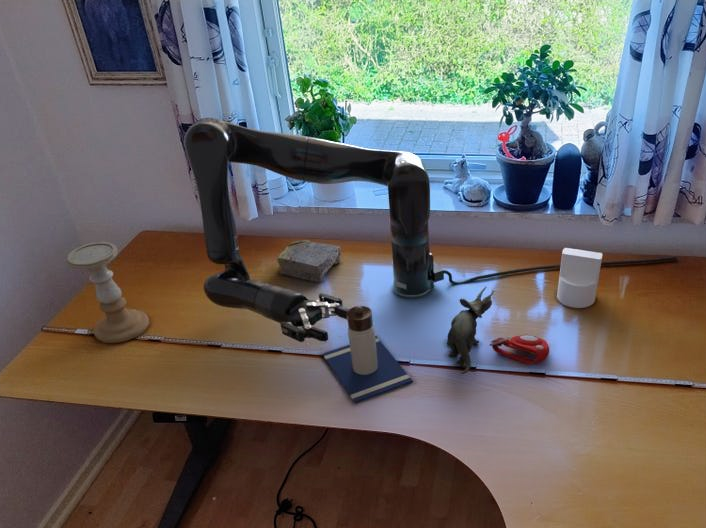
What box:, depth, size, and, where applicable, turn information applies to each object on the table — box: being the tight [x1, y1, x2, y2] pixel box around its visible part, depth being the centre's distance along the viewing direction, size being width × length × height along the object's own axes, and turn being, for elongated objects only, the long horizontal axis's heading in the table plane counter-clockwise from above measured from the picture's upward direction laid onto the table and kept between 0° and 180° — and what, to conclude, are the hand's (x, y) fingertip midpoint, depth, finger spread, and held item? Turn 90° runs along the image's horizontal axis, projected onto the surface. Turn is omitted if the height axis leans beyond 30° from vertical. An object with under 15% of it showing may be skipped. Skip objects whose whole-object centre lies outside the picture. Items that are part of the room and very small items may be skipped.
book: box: [322, 335, 414, 404], centre depth 133 cm, size 13×18×1 cm
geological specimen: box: [276, 239, 342, 283], centre depth 165 cm, size 11×6×15 cm
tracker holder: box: [489, 334, 550, 365], centre depth 134 cm, size 12×4×10 cm
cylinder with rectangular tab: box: [556, 247, 603, 309], centre depth 147 cm, size 9×9×12 cm
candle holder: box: [65, 241, 150, 344], centre depth 142 cm, size 12×12×20 cm
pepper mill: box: [346, 305, 378, 375], centre depth 128 cm, size 5×5×15 cm
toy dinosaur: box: [446, 286, 495, 375], centre depth 132 cm, size 22×8×11 cm, turn 160°
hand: (339, 326), depth 130 cm, fingers open, 8 cm apart
